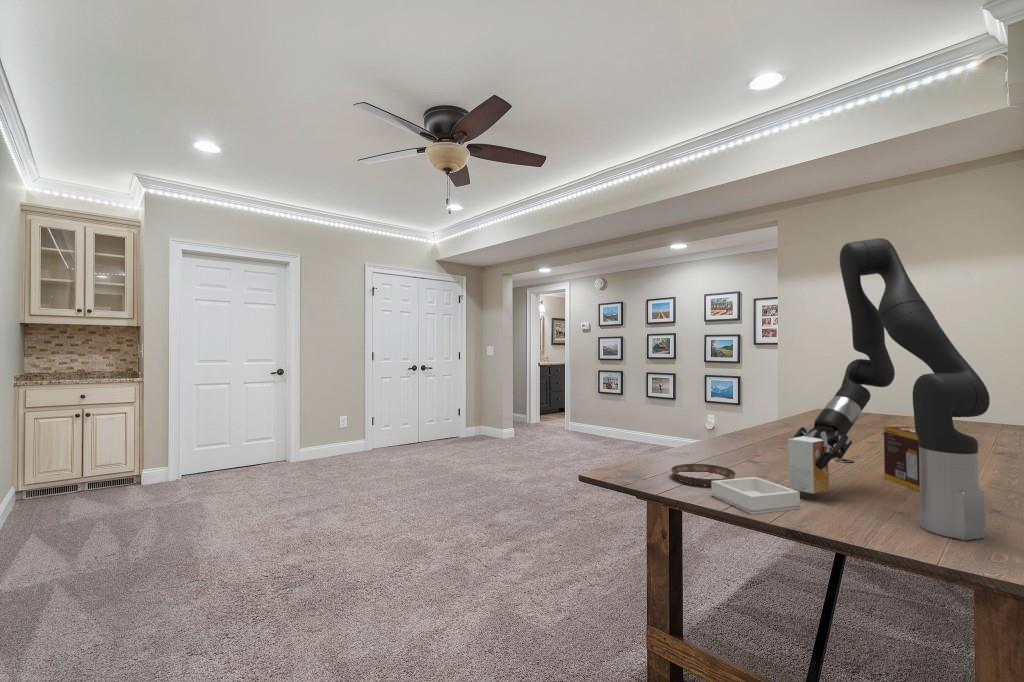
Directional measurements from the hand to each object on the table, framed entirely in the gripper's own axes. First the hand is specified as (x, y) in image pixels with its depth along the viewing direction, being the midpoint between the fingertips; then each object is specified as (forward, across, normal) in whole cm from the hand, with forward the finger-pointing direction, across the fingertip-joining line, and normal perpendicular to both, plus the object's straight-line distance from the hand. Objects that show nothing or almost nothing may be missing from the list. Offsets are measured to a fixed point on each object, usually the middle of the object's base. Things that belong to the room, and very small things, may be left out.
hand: (804, 463), depth 124 cm
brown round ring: (+17, -21, -4) cm, 27 cm away
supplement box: (-22, 0, +35) cm, 41 cm away
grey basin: (+17, 0, -5) cm, 18 cm away
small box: (+4, 0, +6) cm, 7 cm away
